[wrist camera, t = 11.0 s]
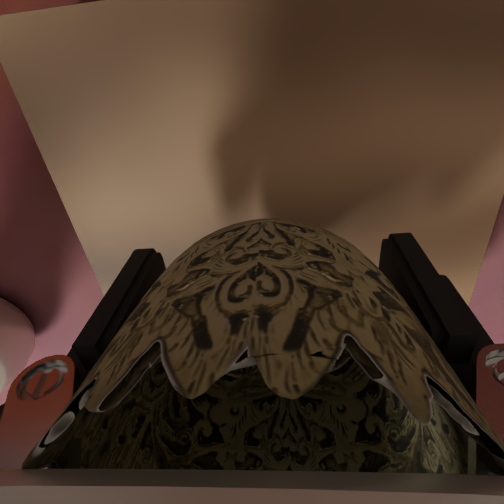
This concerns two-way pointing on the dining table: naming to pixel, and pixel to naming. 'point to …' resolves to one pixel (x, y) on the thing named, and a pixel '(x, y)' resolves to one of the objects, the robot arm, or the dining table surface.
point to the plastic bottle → (14, 342)
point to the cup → (270, 368)
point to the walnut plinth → (268, 121)
